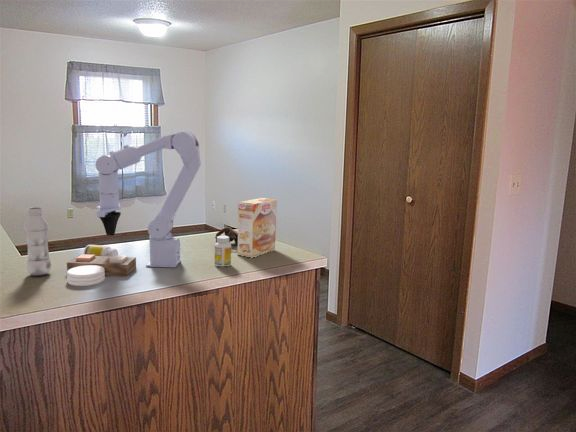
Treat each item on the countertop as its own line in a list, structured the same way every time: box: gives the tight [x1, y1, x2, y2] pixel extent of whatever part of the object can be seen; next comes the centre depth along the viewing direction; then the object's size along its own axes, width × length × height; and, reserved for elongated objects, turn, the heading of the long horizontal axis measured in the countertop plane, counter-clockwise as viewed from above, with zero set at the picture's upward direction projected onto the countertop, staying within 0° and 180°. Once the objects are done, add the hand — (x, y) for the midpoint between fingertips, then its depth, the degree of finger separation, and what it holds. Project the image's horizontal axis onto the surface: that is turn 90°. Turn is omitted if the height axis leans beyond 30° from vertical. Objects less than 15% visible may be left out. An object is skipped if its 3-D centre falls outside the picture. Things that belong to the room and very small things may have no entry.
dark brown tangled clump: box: [214, 226, 238, 245], centre depth 178 cm, size 12×10×8 cm
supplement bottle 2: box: [213, 235, 232, 267], centre depth 152 cm, size 5×5×10 cm
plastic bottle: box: [23, 206, 52, 276], centre depth 135 cm, size 6×7×20 cm
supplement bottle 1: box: [83, 244, 119, 257], centre depth 151 cm, size 5×5×10 cm
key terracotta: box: [75, 253, 95, 262], centre depth 142 cm, size 4×4×3 cm
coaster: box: [66, 265, 106, 287], centre depth 133 cm, size 10×10×4 cm
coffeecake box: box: [237, 197, 278, 259], centre depth 167 cm, size 15×7×20 cm, turn 148°
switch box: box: [66, 255, 137, 277], centre depth 142 cm, size 18×8×4 cm, turn 90°
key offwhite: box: [109, 255, 128, 263], centre depth 142 cm, size 4×4×3 cm
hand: (110, 235), depth 149 cm, fingers closed
